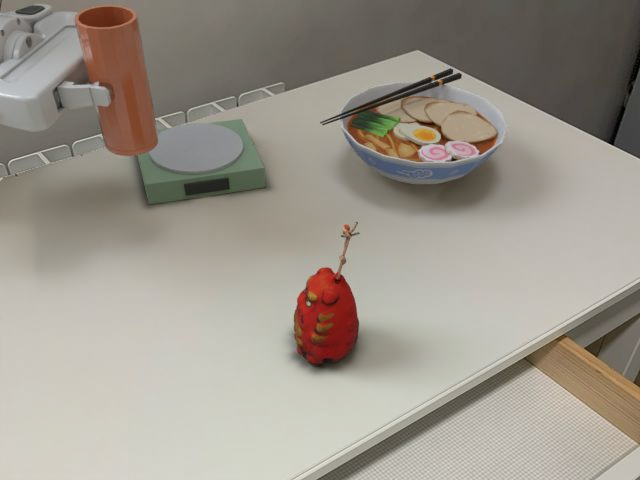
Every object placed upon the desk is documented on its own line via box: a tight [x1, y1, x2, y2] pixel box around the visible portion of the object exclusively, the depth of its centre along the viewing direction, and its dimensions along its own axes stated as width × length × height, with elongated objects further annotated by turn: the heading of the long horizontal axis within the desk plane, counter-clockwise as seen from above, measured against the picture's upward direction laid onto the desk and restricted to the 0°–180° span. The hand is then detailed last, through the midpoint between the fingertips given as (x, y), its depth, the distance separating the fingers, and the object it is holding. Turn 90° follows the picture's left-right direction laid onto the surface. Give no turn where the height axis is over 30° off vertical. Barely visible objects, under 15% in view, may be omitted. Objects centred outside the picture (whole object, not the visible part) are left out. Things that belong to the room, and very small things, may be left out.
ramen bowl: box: [319, 67, 509, 185], centre depth 93 cm, size 25×23×8 cm
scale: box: [136, 118, 266, 205], centre depth 93 cm, size 16×14×4 cm
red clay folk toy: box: [293, 221, 361, 366], centre depth 67 cm, size 8×7×15 cm
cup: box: [74, 4, 159, 157], centre depth 71 cm, size 6×6×13 cm
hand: (126, 79), depth 70 cm, fingers closed on cup, 6 cm apart
